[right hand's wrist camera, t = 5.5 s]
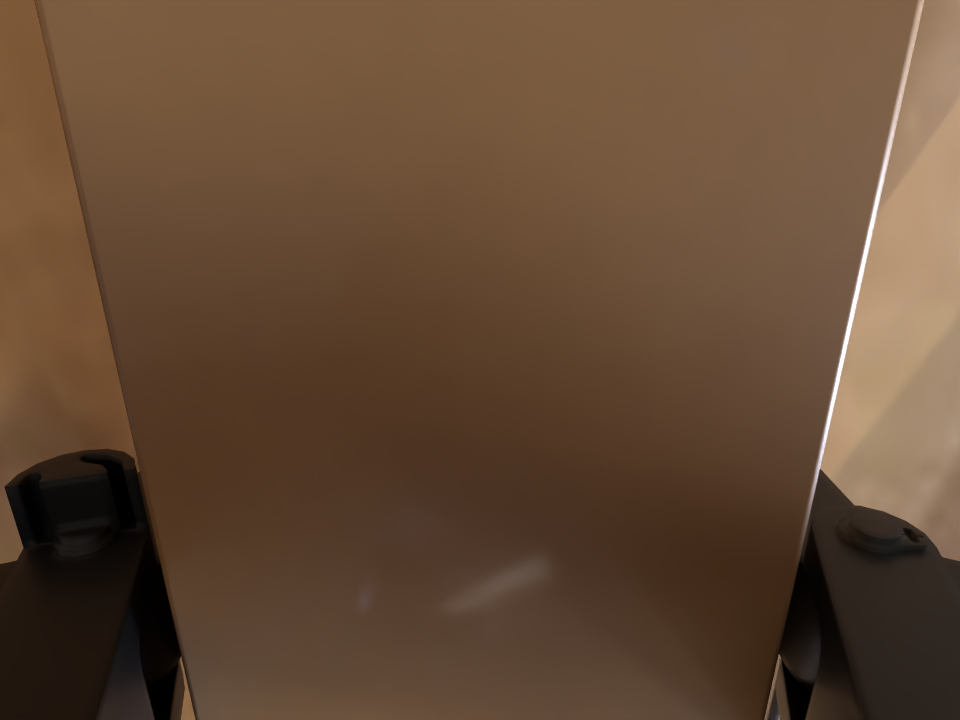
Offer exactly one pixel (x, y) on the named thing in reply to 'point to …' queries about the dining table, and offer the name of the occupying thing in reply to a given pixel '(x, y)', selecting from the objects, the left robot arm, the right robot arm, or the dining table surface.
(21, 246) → the dining table surface
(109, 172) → the wooden beam
